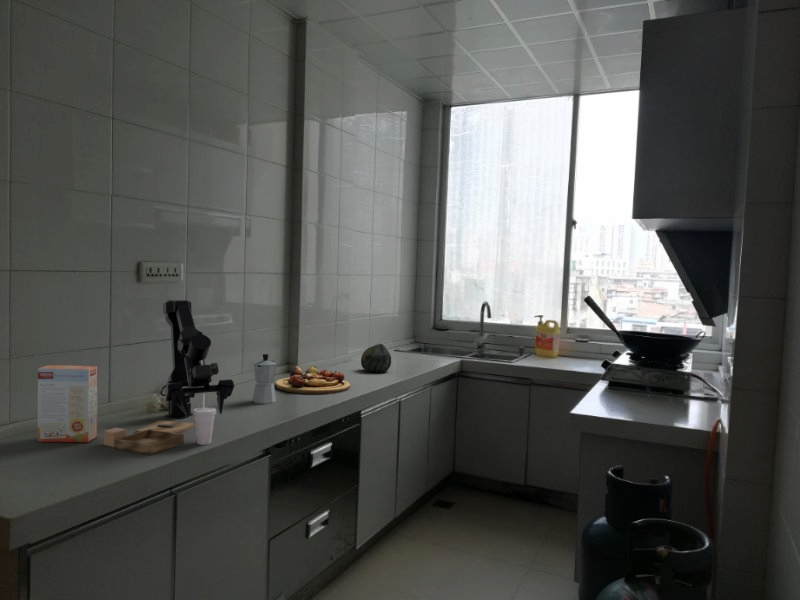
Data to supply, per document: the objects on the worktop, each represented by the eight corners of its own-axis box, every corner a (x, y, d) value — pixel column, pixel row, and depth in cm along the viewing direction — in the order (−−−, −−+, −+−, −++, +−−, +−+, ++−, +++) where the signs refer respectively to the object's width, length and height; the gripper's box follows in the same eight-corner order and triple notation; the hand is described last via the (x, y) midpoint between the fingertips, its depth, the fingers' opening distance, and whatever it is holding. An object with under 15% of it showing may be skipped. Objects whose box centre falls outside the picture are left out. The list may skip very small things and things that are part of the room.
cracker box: (97, 437, 175) (98, 365, 174) (87, 443, 169) (88, 368, 168) (48, 436, 175) (48, 363, 173) (36, 442, 169) (36, 367, 167)
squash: (357, 357, 310) (363, 338, 300) (385, 358, 314) (392, 339, 305) (361, 380, 300) (367, 360, 290) (390, 380, 305) (397, 361, 295)
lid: (135, 432, 181) (135, 428, 181) (159, 422, 193) (159, 418, 193) (173, 436, 178) (173, 431, 178) (195, 426, 191) (195, 421, 191)
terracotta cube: (116, 427, 172) (116, 441, 172) (104, 430, 168) (103, 444, 169) (126, 429, 170) (126, 443, 170) (113, 433, 166) (113, 447, 167)
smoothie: (207, 438, 178) (208, 391, 177) (220, 443, 174) (221, 394, 173) (187, 442, 173) (188, 394, 172) (200, 447, 169) (201, 397, 168)
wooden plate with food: (312, 399, 237) (313, 378, 236) (258, 386, 256) (259, 366, 256) (365, 389, 262) (366, 370, 262) (313, 378, 282) (314, 361, 281)
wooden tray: (115, 448, 165) (115, 439, 165) (149, 437, 177) (149, 428, 177) (151, 455, 161) (151, 445, 161) (183, 443, 172) (183, 434, 172)
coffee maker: (268, 406, 221) (269, 357, 220) (245, 404, 223) (247, 355, 222) (284, 397, 236) (285, 351, 235) (263, 396, 237) (264, 350, 236)
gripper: (167, 355, 172) (174, 401, 163) (233, 352, 181) (243, 396, 173) (162, 378, 179) (168, 423, 170) (225, 374, 189) (235, 417, 180)
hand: (204, 414), depth 173 cm, fingers open, 9 cm apart
